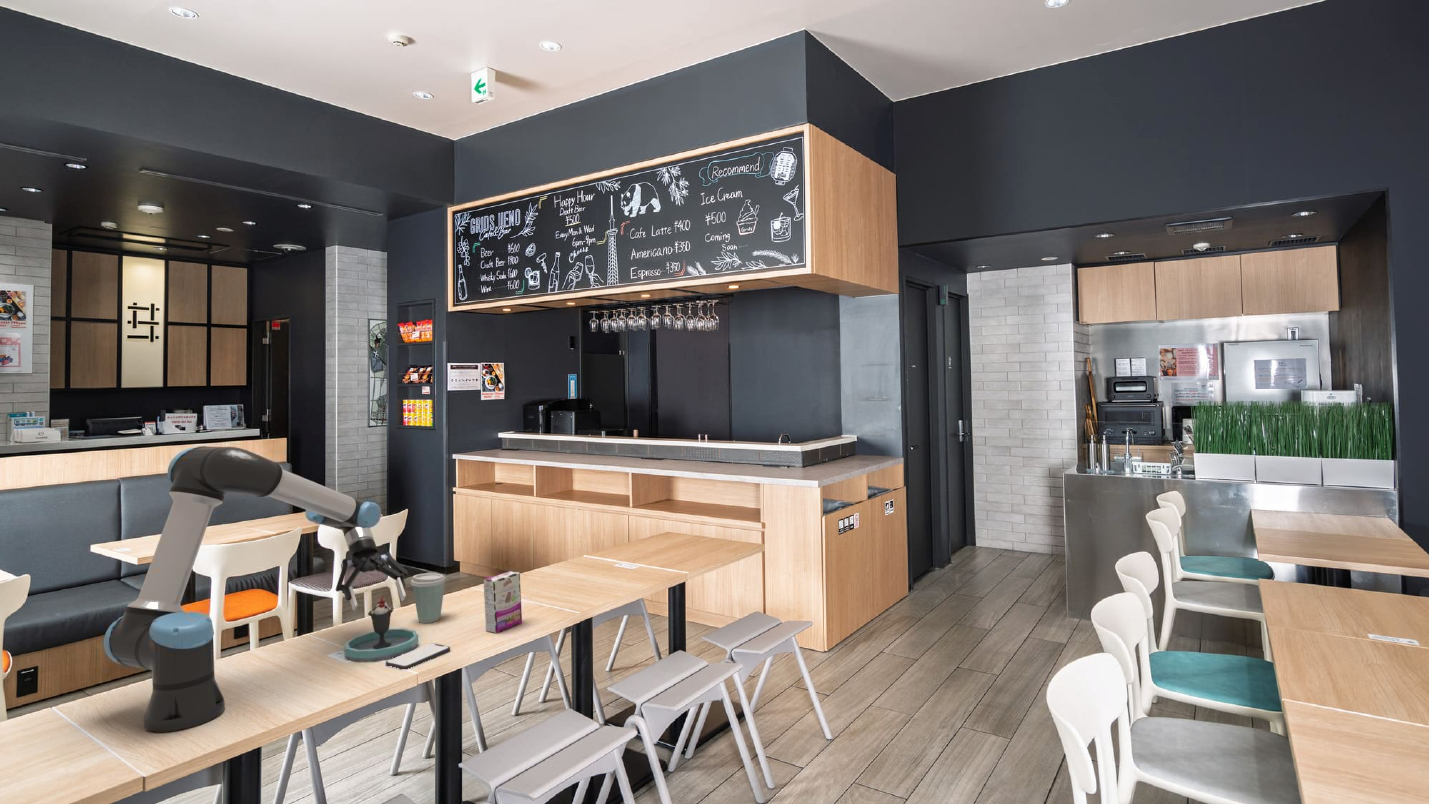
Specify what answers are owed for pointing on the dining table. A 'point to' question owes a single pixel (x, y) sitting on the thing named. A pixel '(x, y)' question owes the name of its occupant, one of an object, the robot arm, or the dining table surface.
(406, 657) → the smartphone
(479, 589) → the dining table surface
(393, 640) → the round tray
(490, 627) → the candy bar box
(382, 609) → the sundae
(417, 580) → the disposable coffee cup
